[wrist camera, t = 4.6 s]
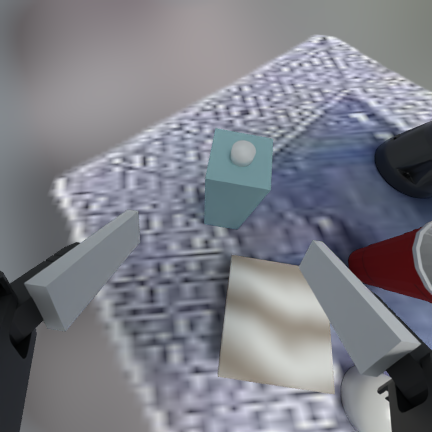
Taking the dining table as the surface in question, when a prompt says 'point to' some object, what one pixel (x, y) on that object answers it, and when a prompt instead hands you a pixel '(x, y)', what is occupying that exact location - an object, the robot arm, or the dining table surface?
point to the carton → (236, 177)
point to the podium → (274, 328)
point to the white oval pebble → (366, 401)
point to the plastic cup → (398, 264)
